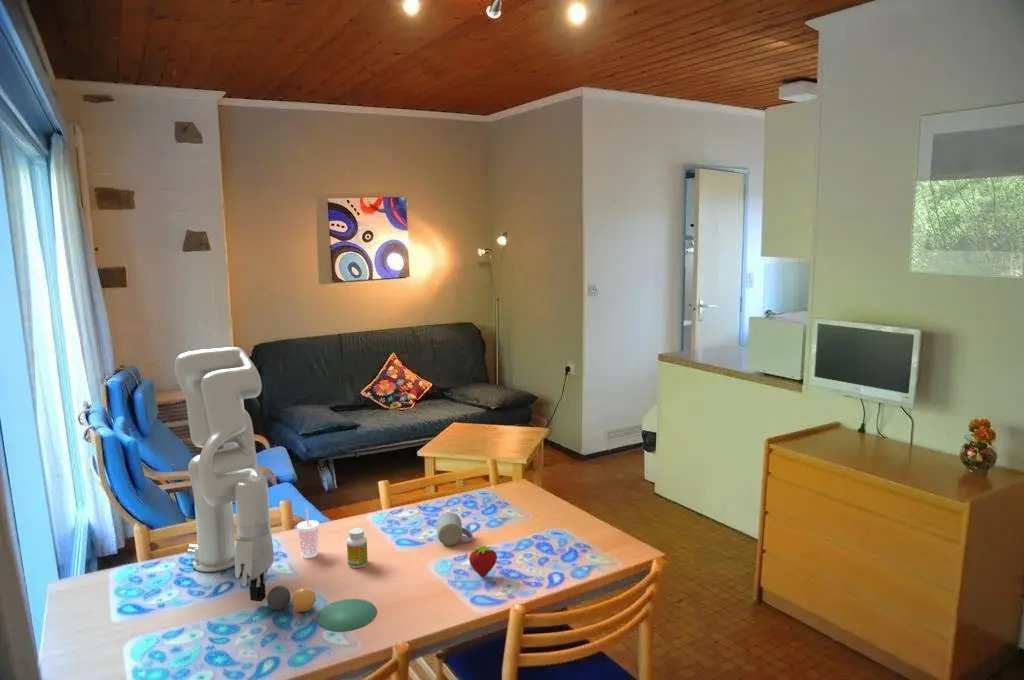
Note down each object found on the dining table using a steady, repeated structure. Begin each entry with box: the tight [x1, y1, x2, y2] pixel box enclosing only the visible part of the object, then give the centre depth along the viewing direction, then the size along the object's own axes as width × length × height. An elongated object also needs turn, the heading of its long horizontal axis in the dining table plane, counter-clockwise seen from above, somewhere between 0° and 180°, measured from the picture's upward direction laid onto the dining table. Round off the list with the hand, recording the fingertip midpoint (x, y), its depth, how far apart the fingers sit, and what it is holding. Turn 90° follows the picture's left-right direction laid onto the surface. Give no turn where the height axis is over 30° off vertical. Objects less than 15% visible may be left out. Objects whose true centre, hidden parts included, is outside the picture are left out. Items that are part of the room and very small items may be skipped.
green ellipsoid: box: [316, 598, 378, 632], centre depth 163 cm, size 14×14×1 cm
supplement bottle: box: [346, 527, 368, 569], centre depth 188 cm, size 5×5×10 cm
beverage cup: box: [296, 507, 320, 559], centre depth 194 cm, size 6×6×14 cm
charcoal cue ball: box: [266, 585, 292, 611], centre depth 165 cm, size 6×6×6 cm
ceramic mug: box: [435, 511, 474, 547], centre depth 203 cm, size 11×8×8 cm
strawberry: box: [468, 542, 498, 578], centre depth 181 cm, size 6×8×10 cm
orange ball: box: [291, 587, 316, 613], centre depth 165 cm, size 6×6×6 cm
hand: (258, 599), depth 167 cm, fingers closed
